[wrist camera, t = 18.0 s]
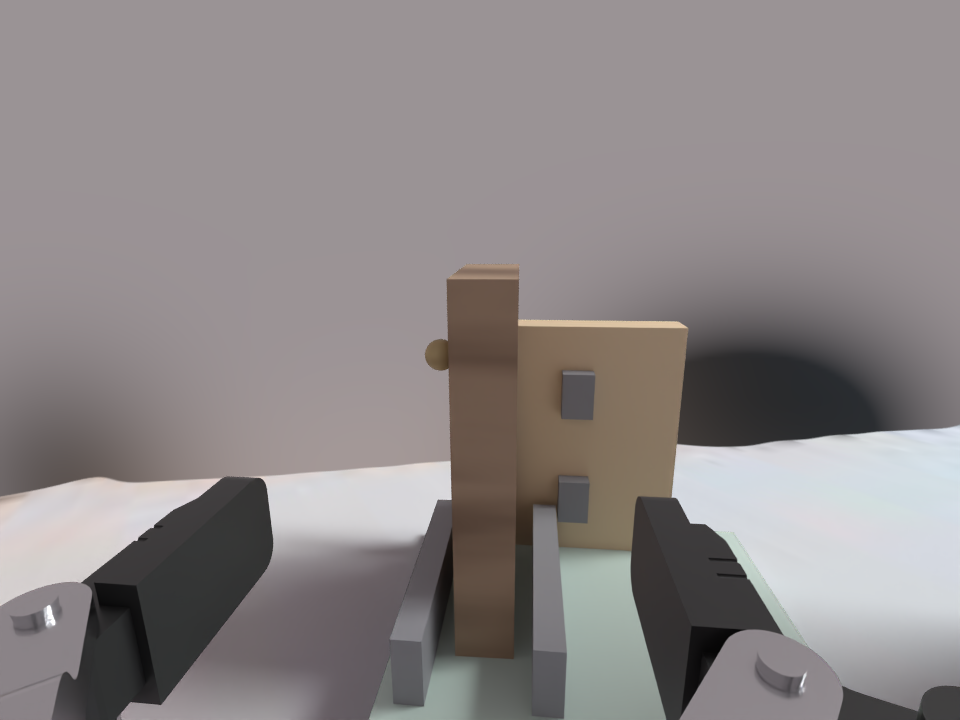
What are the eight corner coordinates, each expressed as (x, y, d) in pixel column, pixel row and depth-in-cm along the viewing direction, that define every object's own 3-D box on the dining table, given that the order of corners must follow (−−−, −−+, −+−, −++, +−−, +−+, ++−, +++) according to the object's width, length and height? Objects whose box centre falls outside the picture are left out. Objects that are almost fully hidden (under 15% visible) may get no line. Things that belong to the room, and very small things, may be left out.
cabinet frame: (955, 917, 14) (1107, 464, 11) (339, 845, 16) (295, 435, 13) (731, 549, 31) (762, 320, 27) (436, 533, 33) (429, 316, 29)
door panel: (513, 659, 22) (518, 279, 18) (430, 654, 22) (417, 279, 18) (515, 556, 28) (519, 264, 24) (451, 553, 29) (445, 264, 25)
